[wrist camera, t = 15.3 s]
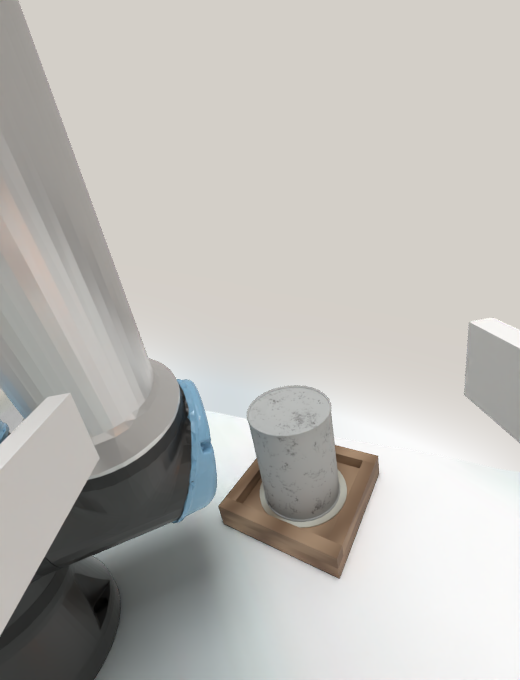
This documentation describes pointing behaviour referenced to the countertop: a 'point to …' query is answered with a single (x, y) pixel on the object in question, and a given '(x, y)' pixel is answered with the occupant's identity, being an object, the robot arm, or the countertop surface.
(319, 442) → the speckled white cylinder
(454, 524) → the countertop surface
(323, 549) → the walnut seat tray
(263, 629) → the countertop surface
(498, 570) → the countertop surface
